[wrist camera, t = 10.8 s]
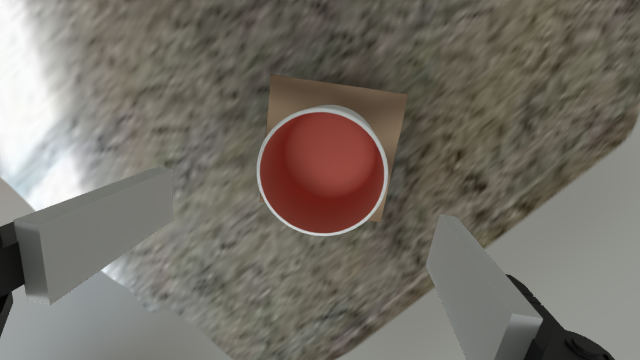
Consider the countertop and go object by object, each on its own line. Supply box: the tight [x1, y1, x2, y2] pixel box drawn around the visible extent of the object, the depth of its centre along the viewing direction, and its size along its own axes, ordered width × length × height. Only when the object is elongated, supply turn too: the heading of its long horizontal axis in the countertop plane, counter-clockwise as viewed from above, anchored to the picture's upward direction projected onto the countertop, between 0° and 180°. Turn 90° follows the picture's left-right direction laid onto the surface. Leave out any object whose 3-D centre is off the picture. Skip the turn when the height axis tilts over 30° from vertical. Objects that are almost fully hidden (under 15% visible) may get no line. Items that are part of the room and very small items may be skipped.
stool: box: [260, 74, 408, 223], centre depth 36 cm, size 14×14×8 cm
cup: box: [257, 105, 388, 236], centre depth 27 cm, size 10×10×10 cm
